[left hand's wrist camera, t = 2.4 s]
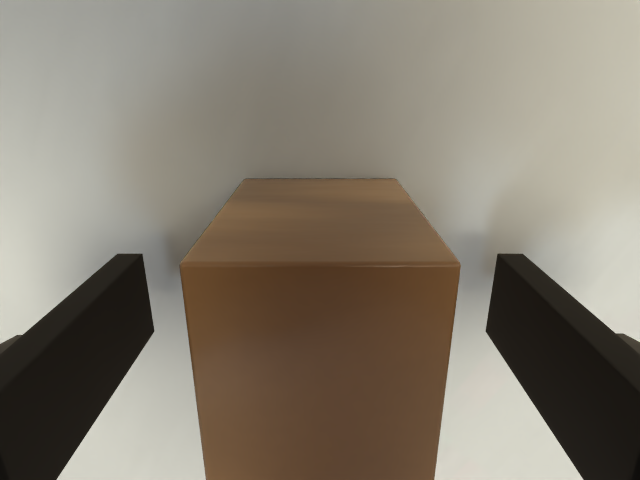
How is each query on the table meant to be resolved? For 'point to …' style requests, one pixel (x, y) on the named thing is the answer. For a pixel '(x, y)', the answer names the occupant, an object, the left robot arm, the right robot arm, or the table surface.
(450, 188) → the table surface
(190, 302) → the brown rectangular block
